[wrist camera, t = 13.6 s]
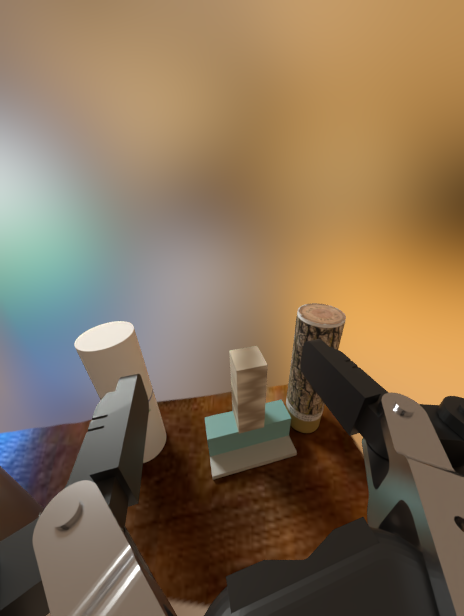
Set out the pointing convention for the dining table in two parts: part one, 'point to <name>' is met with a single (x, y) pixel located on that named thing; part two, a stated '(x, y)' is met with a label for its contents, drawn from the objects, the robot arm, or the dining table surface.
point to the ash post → (248, 388)
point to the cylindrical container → (120, 371)
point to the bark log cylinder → (300, 395)
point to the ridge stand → (248, 441)
